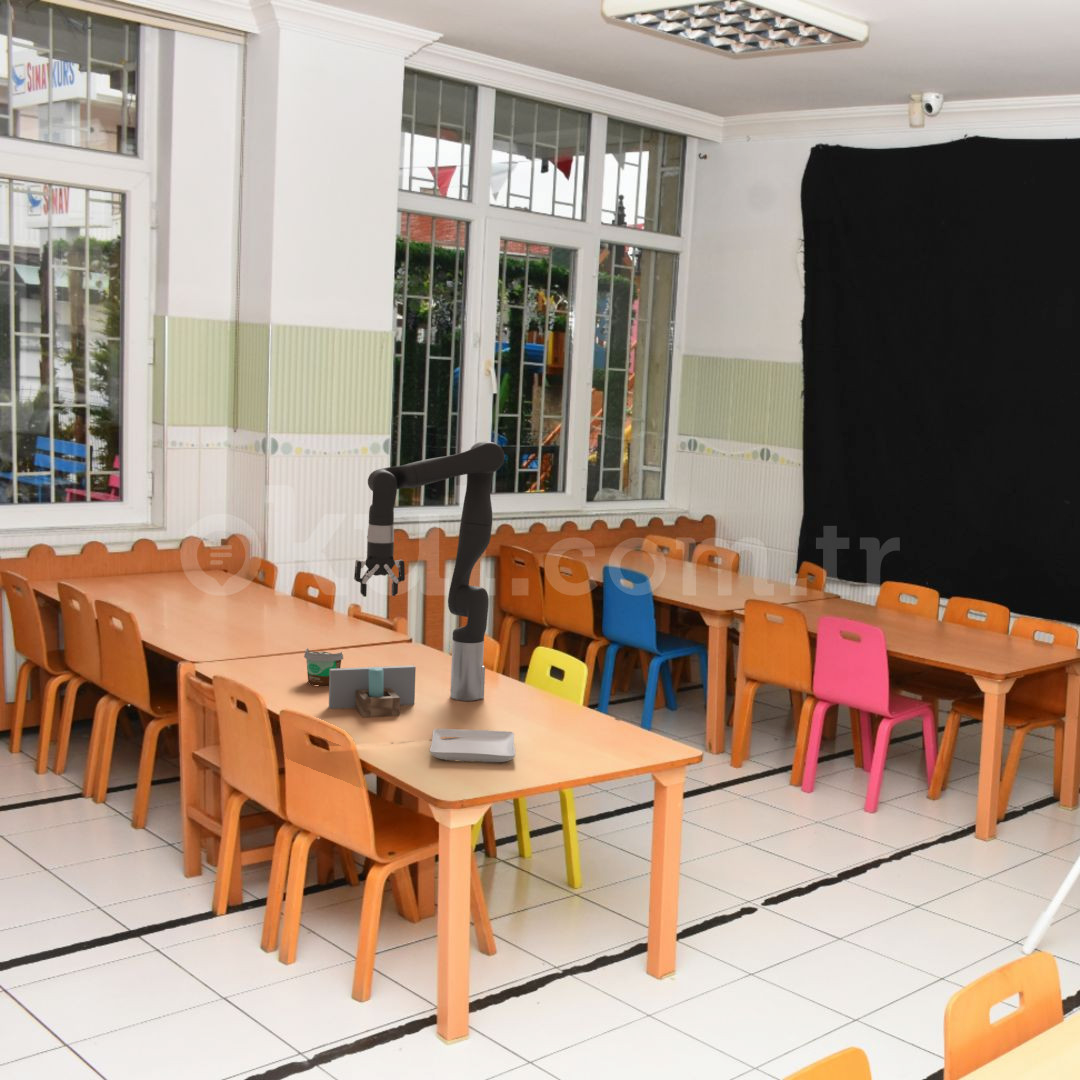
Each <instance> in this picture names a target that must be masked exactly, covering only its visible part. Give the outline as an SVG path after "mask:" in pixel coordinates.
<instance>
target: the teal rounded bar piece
mask: <svg viewBox="0 0 1080 1080" xmlns="http://www.w3.org/2000/svg"><path fill="white" fill-rule="evenodd" d="M369 697H383V669H382V668H371V669H369Z"/></svg>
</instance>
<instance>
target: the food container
mask: <svg viewBox="0 0 1080 1080" xmlns="http://www.w3.org/2000/svg"><path fill="white" fill-rule="evenodd" d="M303 657H304V659H306V669H307V670H306V671H307V672H306V674H307V683H308V682H309V683H310V684H313V685H319V686H318V687H320V686H328V687H329V673H330V669H337V668H342V667H341V665H342V660H344V655H343V652H342V651H341V652H337V653H331V652H327V651H311V650H309V648H308V647H307V648H306V649H305V651H304V654H303ZM309 683H308V684H309ZM310 684H309V685H310ZM313 685H312V686H313Z"/></svg>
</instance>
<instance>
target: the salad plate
mask: <svg viewBox="0 0 1080 1080" xmlns="http://www.w3.org/2000/svg"><path fill="white" fill-rule="evenodd" d="M444 737H445V738H444ZM429 753H430V754H431V755H432V756H433V757H435V758H437V759H439V760H440V759H441V760H443V759H445V760H444V761H447V760H461V761H460V762H464V761H482V762H481V763H505V762H509V761H511V760H513V759H514V758H515V757H516V748H515V733H514V732H513V731H506V730H502V731H501V730H489V729H487V730H486V729H465V728H463V729H460V728H459V729H458V728H457V729H456V728H455V729H454V728H435V729H433V730H432V739H431V743H430V748H429Z"/></svg>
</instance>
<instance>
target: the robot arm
mask: <svg viewBox="0 0 1080 1080" xmlns="http://www.w3.org/2000/svg"><path fill="white" fill-rule="evenodd" d="M504 463H505V452H504V450H503V449H502V447H501V446H500V445H499V444H497V443H495V442H493V441H480V442H477V443H475V444H473V445H472V446H471V447H470V449H468V450H464V451H462V452H459V453H455V454H452V455H451V454H450V455H446V456H439V457H432V458H428V459H422V460H418V461H414V462H409V463H407V464H403V465H396V466H388V467H384V468H383V467H382V468H379V469H376V470H373V471H372V472H371V473H370V474H369V476H368V477H367V485H368V488H369V489H370V491H372V501H371V505H370V506H369V510H368V527H367V535H366V541H367V544H366V545H367V546H366V549H367V550H366V560H359V559H356V560H355V566H354V576H353V579H354V581H355V582H357V583H359V584H360V595H362V597H364V598H365V597H366V598H367V591H368V590H367V588H368V587H367V586H368V584H367V582H368V581H369V579H371V578H372V577H373V576H375V577H377V576H382V577H383V576H388V577H389V578H390V579H391V581H392V582H391V596H392V597H396V595H398V591H399V583H400V582H404V581H405V580H406V576H405V575H406V572H405V571H406V569H405V561H404V560H403V559H402V558H401V559H398V560H395V559H394V555H395V553H394V549H395V548H394V547H395V528H394V522H395V521H394V520H395V519H394V516H395V511H394V509H395V505H396V498H397V494H398V493H397V491H398V490H400V489H413V488H418V487H423V486H426V485H430V484H433V483H437V482H440V481H444V480H447V479H451V478H454V477H455V478H456V477H459V476H465V475H466V490H465V495H464V500H463V507H462V512H461V519H460V525H459V533H458V540H457V541H458V544H457V550H456V558H455V562H454V569H453V572H452V577H451V582H450V585H449V586H450V587H449V591H448V598H447V607H448V610H449V612H450V613H451V614H452V615H454V616H460V617H463V618H465V617H466V618H467V619H466V621H467V622H466V625H465V626H460V627H456V628H455V629H454V630H453V631H452V641H451V642H452V643H451V644H452V645H451V667H450V668H451V671H450V673H451V674H450V689H449V690H450V698H451V699H453V700H456V701H465V702H469V701H470V702H471V701H478V700H482V699H483V700H484V699H485V679H486V666H485V665H484V653H485V652H484V651H485V650H484V649H485V648H484V647H485V645H484V644H485V634H486V630H487V627H488V615H489V604H490V603H489V601H490V599H489V594H488V592H487V591H488V590H487V589H486V588H484V587H482V586H475V585H471V584H470V580H471V579H470V578H471V574H472V572H473V569H474V567H475V565H476V563H477V562H478V561H479V559H480V558H481V557H482V555H483V554H484V552H485V551H486V550H487V548H488V547H489V544H490V541H491V537H492V536H491V535H492V530H493V529H492V528H493V509H492V508H493V507H492V499H491V487H492V481H493V476H494V473H495V472H497V471H498V470H499V469H500V468H501V467H502V466H503V464H504ZM364 566H366V568H367V569H366V571H365V572H364V574H363V576H361V574H362V573H361V572H362V569H363V568H364ZM394 566H396V568H398V576H396V575H395V573H394V572H393V570H392V569H393V568H394Z"/></svg>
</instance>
